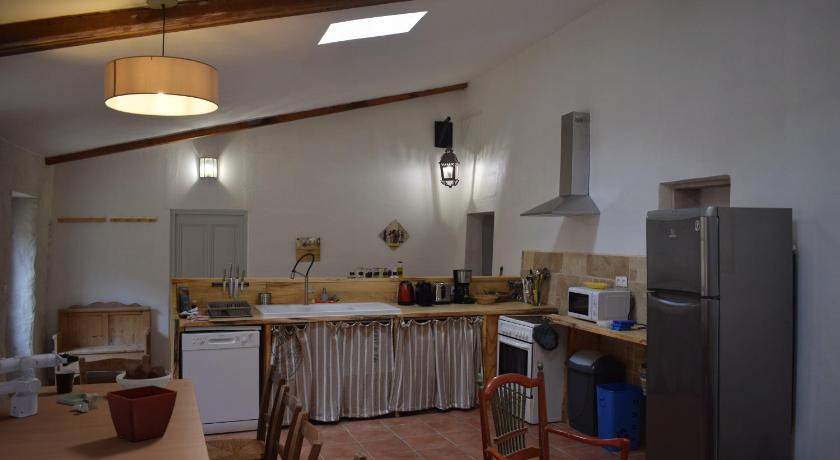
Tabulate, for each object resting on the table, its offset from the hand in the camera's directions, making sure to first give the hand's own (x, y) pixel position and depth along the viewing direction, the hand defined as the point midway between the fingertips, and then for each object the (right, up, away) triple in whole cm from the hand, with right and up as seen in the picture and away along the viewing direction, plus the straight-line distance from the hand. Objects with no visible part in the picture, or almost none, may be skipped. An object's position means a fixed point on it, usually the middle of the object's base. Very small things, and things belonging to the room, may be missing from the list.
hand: (73, 358), depth 302 cm
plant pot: (+51, -21, -47) cm, 72 cm away
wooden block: (+13, -20, -9) cm, 26 cm away
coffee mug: (-17, -22, +25) cm, 37 cm away
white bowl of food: (+23, -22, +21) cm, 39 cm away
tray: (+1, -21, +4) cm, 22 cm away
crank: (+12, -20, -15) cm, 27 cm away
